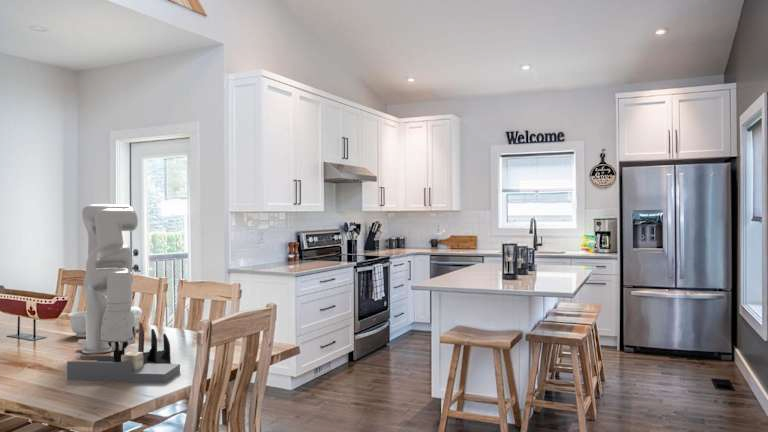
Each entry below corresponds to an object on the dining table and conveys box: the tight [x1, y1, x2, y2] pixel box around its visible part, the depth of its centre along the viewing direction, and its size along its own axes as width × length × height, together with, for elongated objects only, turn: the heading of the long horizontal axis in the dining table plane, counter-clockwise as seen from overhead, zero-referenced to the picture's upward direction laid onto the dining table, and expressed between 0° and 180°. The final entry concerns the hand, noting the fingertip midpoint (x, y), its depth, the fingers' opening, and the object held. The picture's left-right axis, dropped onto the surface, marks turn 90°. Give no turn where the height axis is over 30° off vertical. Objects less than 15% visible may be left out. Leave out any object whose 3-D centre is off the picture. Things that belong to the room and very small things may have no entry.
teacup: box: [67, 310, 86, 338], centre depth 248 cm, size 12×15×10 cm
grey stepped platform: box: [66, 353, 181, 384], centre depth 188 cm, size 34×12×6 cm, turn 87°
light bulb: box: [131, 306, 143, 330], centre depth 261 cm, size 7×7×11 cm
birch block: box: [121, 351, 143, 371], centre depth 187 cm, size 5×5×5 cm
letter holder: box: [137, 322, 172, 365], centre depth 209 cm, size 10×20×14 cm, turn 27°
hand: (119, 361), depth 188 cm, fingers closed
